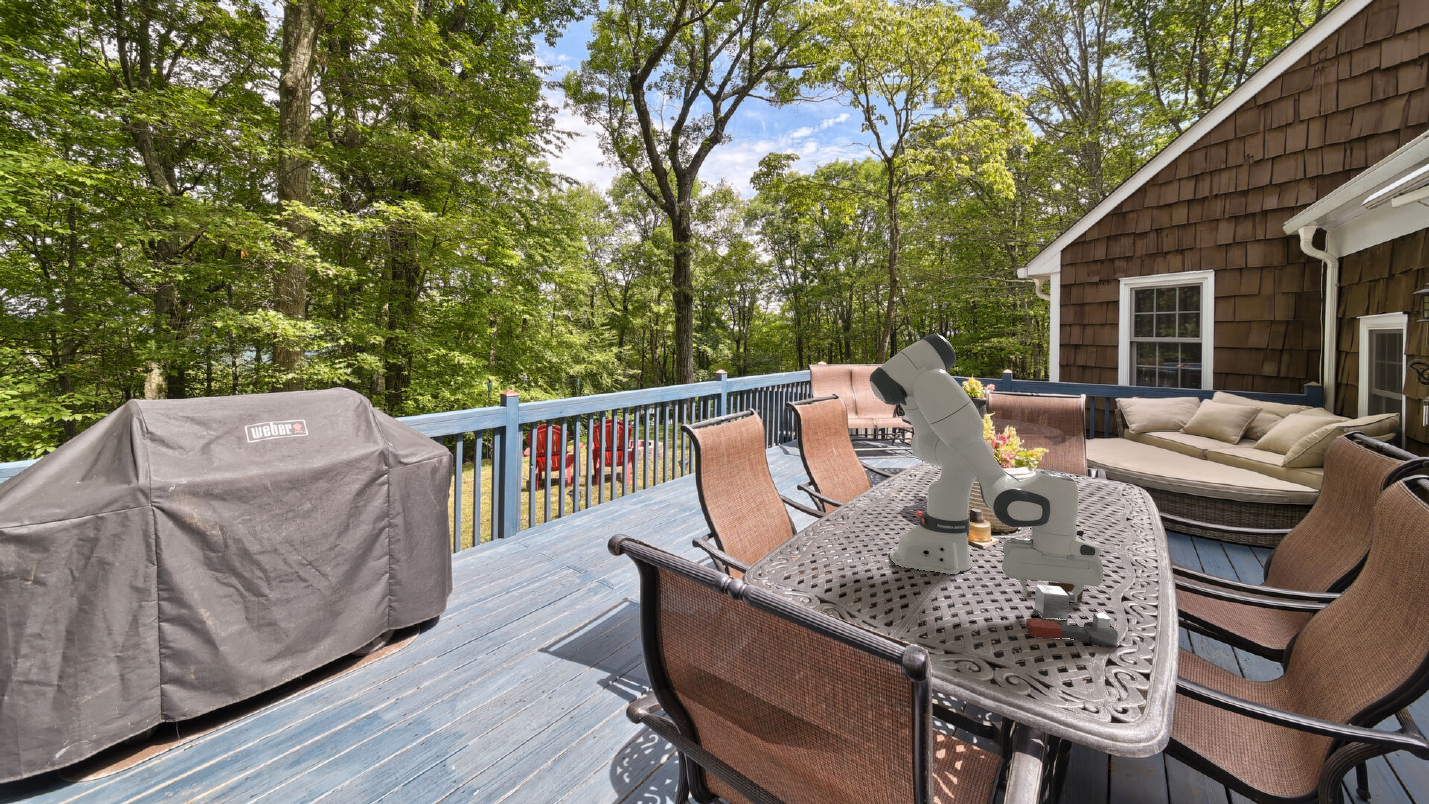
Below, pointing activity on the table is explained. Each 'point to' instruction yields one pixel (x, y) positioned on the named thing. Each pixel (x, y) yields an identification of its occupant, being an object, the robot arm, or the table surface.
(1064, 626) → the ratchet
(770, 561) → the table surface
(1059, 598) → the silver metal block
